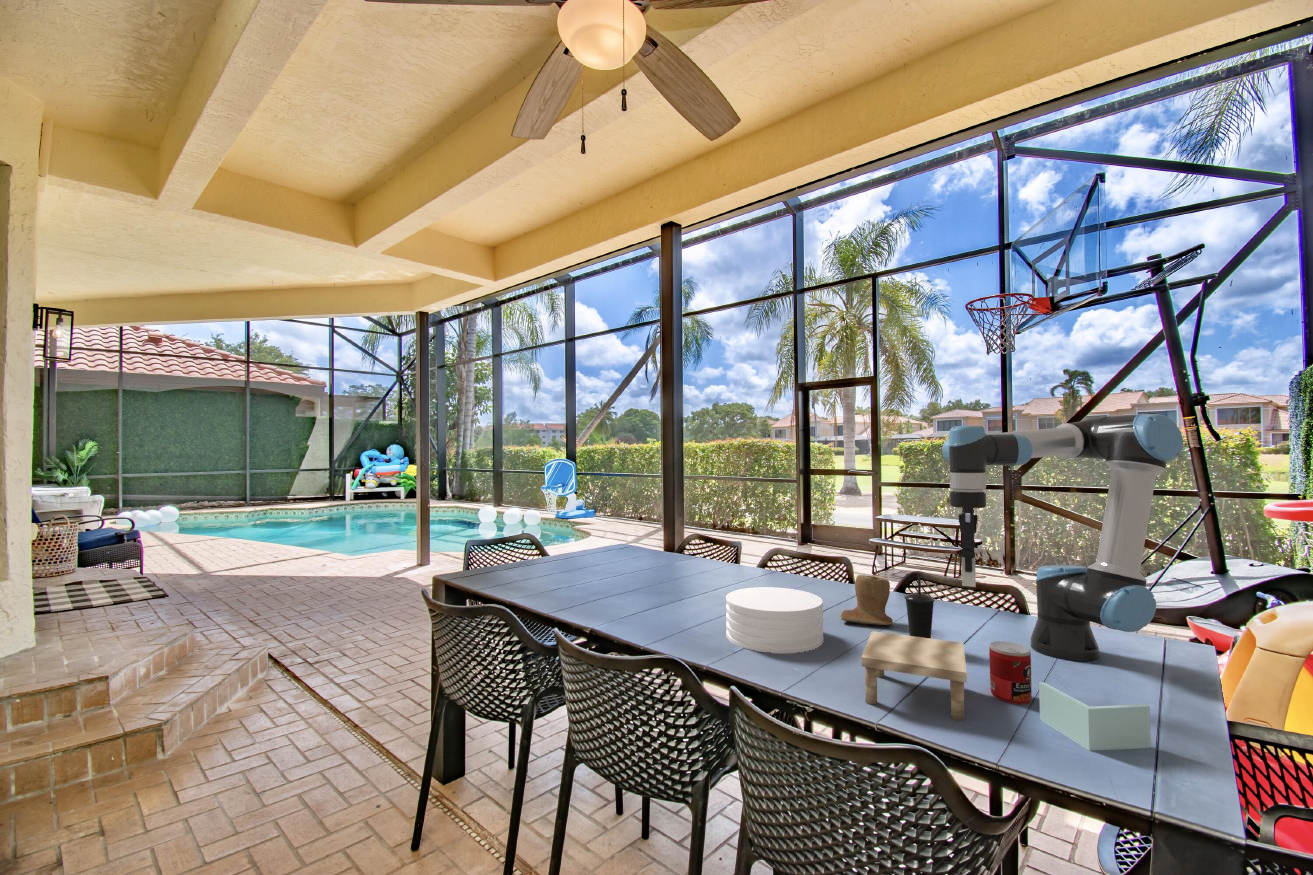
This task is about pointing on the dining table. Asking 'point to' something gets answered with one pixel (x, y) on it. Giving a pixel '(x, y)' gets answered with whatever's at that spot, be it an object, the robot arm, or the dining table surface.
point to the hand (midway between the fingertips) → (969, 580)
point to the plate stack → (774, 619)
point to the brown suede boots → (869, 601)
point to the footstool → (915, 663)
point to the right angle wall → (1095, 721)
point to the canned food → (1010, 672)
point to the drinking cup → (919, 612)
